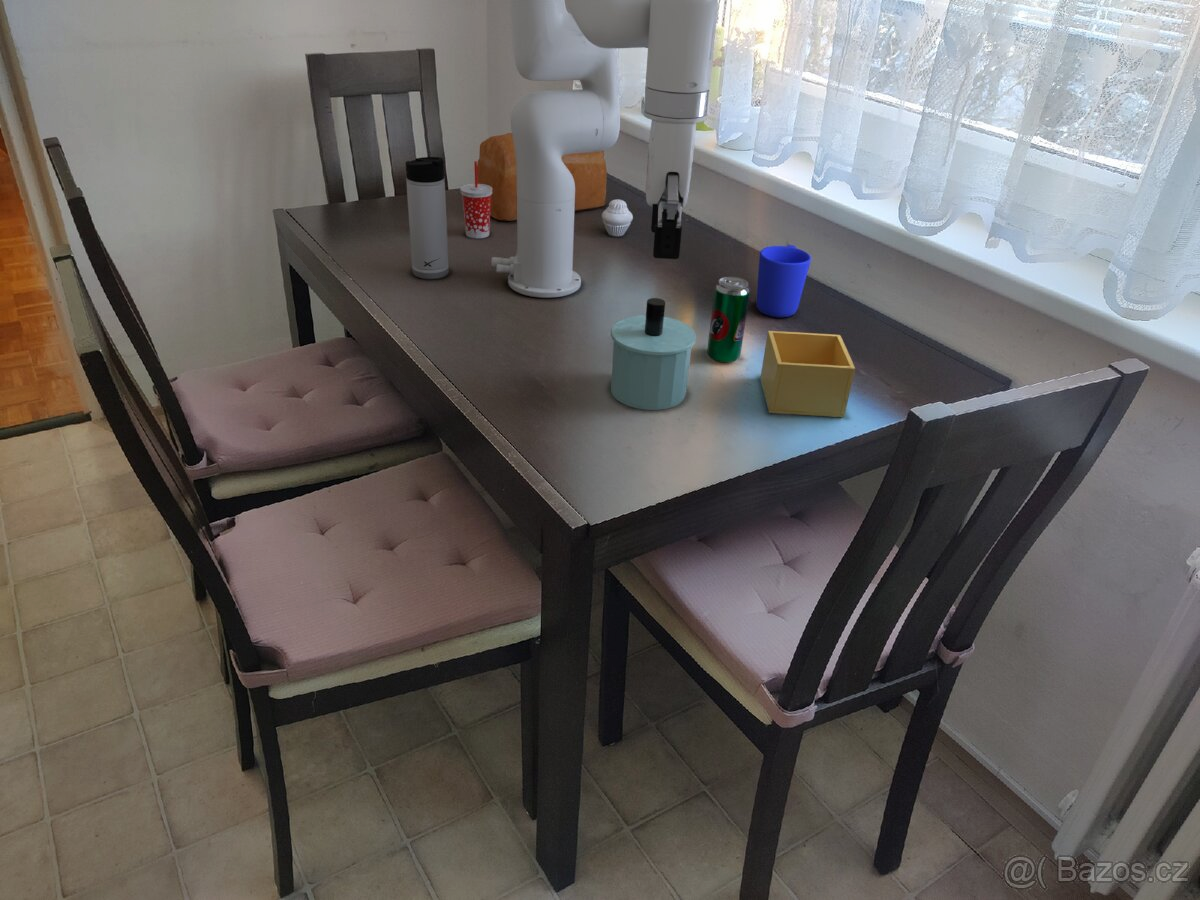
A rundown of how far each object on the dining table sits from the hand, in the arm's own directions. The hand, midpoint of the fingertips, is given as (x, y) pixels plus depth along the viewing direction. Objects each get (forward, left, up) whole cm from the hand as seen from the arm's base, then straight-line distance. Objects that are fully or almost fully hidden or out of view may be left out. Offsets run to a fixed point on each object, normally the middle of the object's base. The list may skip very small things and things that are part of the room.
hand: (664, 244), depth 114 cm
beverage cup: (-33, +58, -21) cm, 70 cm away
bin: (+21, 0, -21) cm, 30 cm away
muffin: (-6, +63, -21) cm, 66 cm away
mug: (+22, +31, -21) cm, 43 cm away
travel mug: (-38, +37, -21) cm, 57 cm away
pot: (-1, -1, -21) cm, 21 cm away
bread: (-22, +77, -21) cm, 83 cm away
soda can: (+11, +11, -21) cm, 26 cm away
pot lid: (0, -1, -12) cm, 12 cm away
